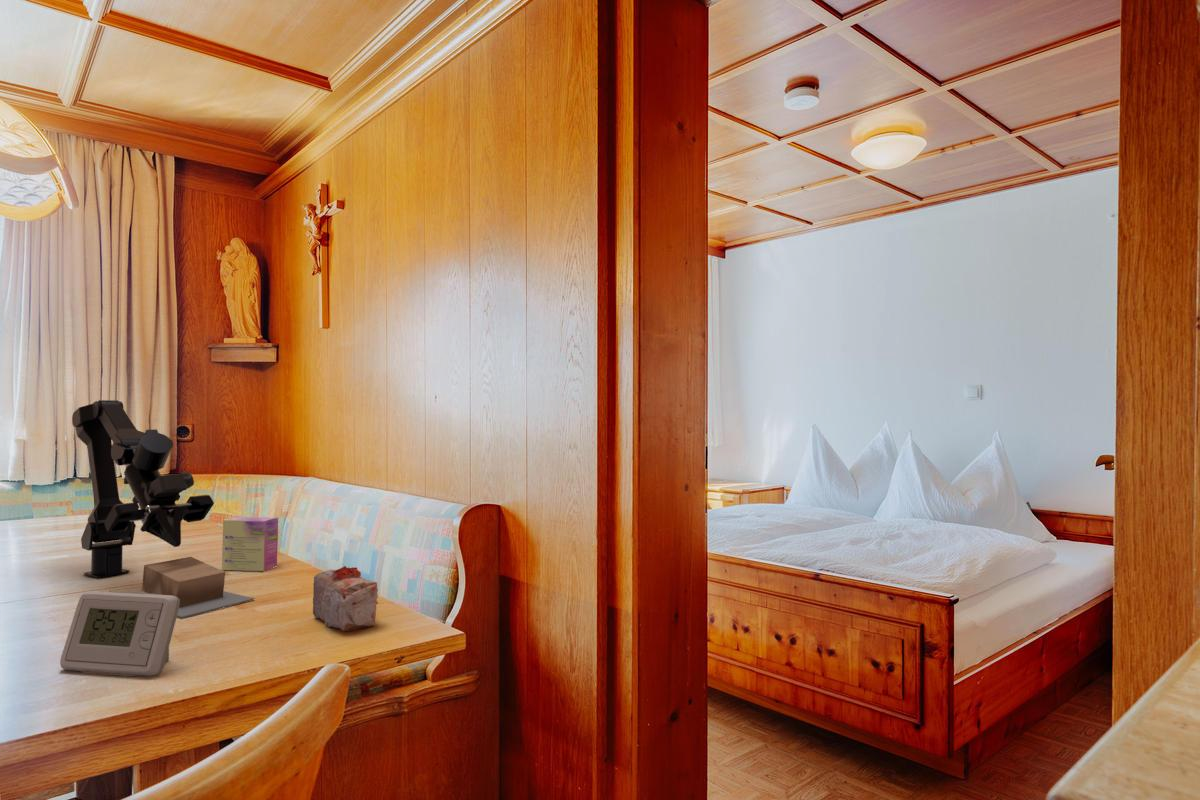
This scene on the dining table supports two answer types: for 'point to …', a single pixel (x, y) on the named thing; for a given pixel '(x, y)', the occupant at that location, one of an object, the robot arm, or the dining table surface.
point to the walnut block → (184, 580)
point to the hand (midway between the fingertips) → (178, 545)
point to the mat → (211, 604)
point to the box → (249, 543)
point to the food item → (345, 599)
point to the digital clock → (120, 633)
